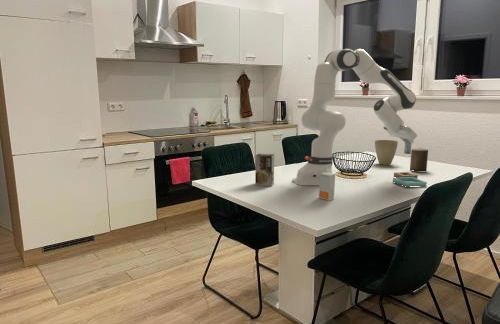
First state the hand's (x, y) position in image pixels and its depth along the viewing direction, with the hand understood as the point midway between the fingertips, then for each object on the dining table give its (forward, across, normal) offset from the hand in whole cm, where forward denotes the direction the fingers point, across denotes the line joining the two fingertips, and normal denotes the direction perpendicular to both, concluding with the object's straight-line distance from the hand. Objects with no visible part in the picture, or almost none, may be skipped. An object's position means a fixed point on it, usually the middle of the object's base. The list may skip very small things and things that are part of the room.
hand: (409, 142), depth 216 cm
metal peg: (+4, 0, +5) cm, 6 cm away
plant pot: (+24, +42, +6) cm, 48 cm away
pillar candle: (+30, +19, 0) cm, 36 cm away
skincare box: (-28, -27, +59) cm, 71 cm away
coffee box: (-43, +4, +74) cm, 85 cm away
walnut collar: (+15, 0, +15) cm, 21 cm away
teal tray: (+11, -12, +20) cm, 25 cm away
